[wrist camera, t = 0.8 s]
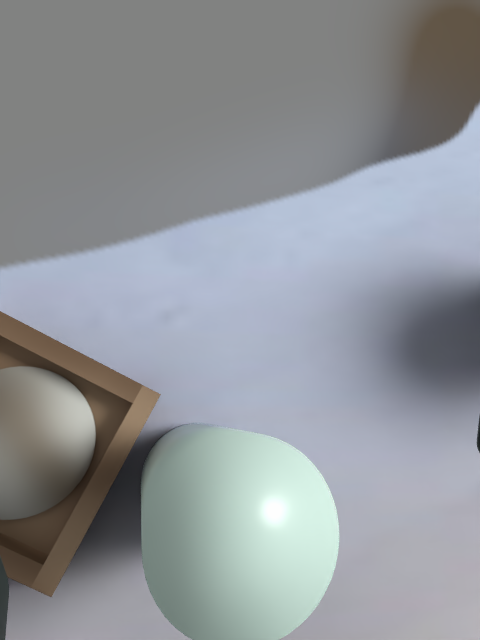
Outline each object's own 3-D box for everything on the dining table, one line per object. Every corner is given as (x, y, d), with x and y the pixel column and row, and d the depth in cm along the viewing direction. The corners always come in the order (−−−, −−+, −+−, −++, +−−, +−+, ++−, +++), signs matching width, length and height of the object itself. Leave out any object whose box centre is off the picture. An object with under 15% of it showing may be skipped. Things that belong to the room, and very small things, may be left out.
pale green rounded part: (219, 556, 24) (290, 685, 13) (119, 507, 24) (101, 597, 12) (267, 452, 26) (367, 484, 15) (174, 404, 26) (202, 398, 14)
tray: (61, 576, 23) (51, 597, 20) (-130, 488, 22) (-165, 498, 19) (158, 396, 25) (160, 394, 23) (-8, 310, 24) (-24, 298, 22)
